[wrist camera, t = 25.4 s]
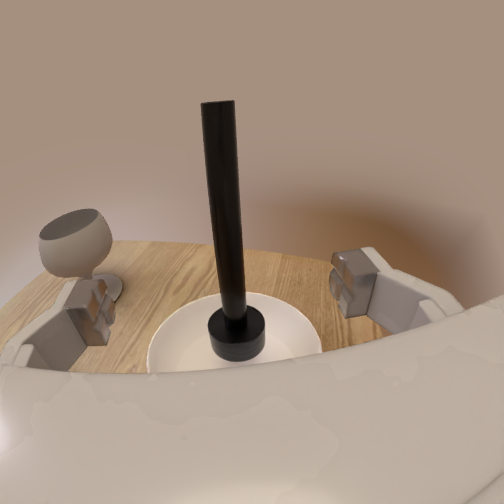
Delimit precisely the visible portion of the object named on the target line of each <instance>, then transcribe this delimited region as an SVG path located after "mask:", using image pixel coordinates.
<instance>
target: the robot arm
mask: <svg viewBox="0 0 504 504" xmlns="http://www.w3.org/2000/svg"><path fill="white" fill-rule="evenodd" d="M331 264H332V265H333V267H334V269H333V270H332V271H331V272H330V276H329V286H330V291H331V294H332V296H333V297H334V298H335V299H336V300H338V301H339V306H338V307H339V308H340V310H341V312H342V314H343V316H344V317H345V319H347V318H352V317H358V316H363V315H367V317H369V318H370V319H372V320H373V321H375V322H376V323H378V324H379V325H381V326H382V327H383V328H385V329H386V330H388V331H389V332H391V333H392V334H394V335H391V336H388V337H384V338H380V339H377V340H373V341H369V342H366V343H362V344H358V345H354V346H350V347H345V348H341V349H337V350H332V351H327V352H323V353H318V354H313V355H308V356H302V357H297V358H291V359H285V360H279V361H273V362H266V363H259V364H252V365H245V366H237V367H228V368H219V369H208V370H196V371H182V372H164V373H87V372H69V371H68V370H69V369H70V368H71V366H72V365H73V364H74V363H75V361H76V360H77V359H78V358H79V357H80V356H81V354H82V353H83V352H84V351H85V350H86V348H87V346H107V343H108V340H109V337H110V333H111V331H110V329H109V327H110V326H111V325H112V324H113V323H114V320H115V306H114V302H113V300H112V298H111V297H110V296H109V295H107V294H106V292H107V289H108V288H107V285H106V283H105V281H104V280H103V279H89V280H76V281H69V282H66V283H65V285H64V287H63V288H62V290H61V292H60V294H59V295H58V297H57V299H56V301H55V302H54V304H53V306H52V308H51V309H47V310H46V311H44V312H43V313H42V314H41V315H39V316H38V317H37V318H35V319H34V320H33V321H32V322H30V323H29V324H28V325H26V326H25V327H24V328H23V329H22V330H20V331H19V332H18V333H17V334H15V335H14V336H13V337H12V338H10V339H9V340H8V341H7V342H6V344H5V346H4V348H3V350H2V352H1V354H0V504H504V294H502V295H500V296H498V297H496V298H494V299H491V300H489V301H487V302H484V303H482V304H480V305H477V306H475V307H472V308H470V309H467V310H465V309H464V308H463V307H462V306H461V304H460V303H459V302H458V301H457V300H456V299H455V298H454V297H453V296H452V294H450V292H448V291H446V290H443V289H441V288H439V287H436V286H434V285H432V284H430V283H428V282H425V281H423V280H421V279H418V278H416V277H414V276H411V275H409V274H407V273H404V272H402V271H400V270H397V269H396V270H393V269H392V268H391V267H390V266H389V264H388V263H387V262H386V261H385V260H384V259H383V258H382V257H381V256H380V255H379V253H378V252H377V251H376V250H375V249H374V248H372V247H366V248H360V249H354V250H348V251H341V252H334V253H333V255H332V260H331Z"/></svg>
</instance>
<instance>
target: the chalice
mask: <svg viewBox="0 0 504 504" xmlns="http://www.w3.org/2000/svg"><path fill="white" fill-rule="evenodd" d="M111 246H112V234H111V231H110V228H109V226H108V224H107V222H106V221H105V219H104V217H103V216H102V215H101V214H100V213H99V212H98V211H97V210H95V209H81V210H77V211H73V212H70V213H67V214H65V215H63V216H61V217H58V218H57V219H55V220H53V221H52V222H50V223H49V224H48V225H46V226H45V227H44V228H43V229H42V231H41V232H40V235H39V252H40V256H41V260H42V263H43V265H44V267H45V268H46V269H47V270H48V272H49V273H51V274H53V275H55V276H57V277H63V278H70V277H77V276H78V277H80V278H82V279H83V280H89V279H103V280H104V281H105V283H106V285H107V288H108V289H107V292H106V294H107V295H109V296H110V297H111V298H112V300H113V302H114V301H115V300H116V299H117V298H118V296H119V295H120V293H121V291H122V281H121V280H120V278H118V277H117V276H115V275H112V274H98V275H94V276H92V272H93V270H94V268H96V267H97V266H98V265H99V264H100V263H102V262H103V261H104V259H105V258H106V257H107V255H108V254H109V252H110V249H111Z"/></svg>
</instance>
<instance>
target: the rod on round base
mask: <svg viewBox="0 0 504 504" xmlns="http://www.w3.org/2000/svg"><path fill="white" fill-rule="evenodd" d="M201 116H202V130H203V142H204V153H205V165H206V175H207V185H208V195H209V205H210V214H211V223H212V231H213V240H214V249H215V257H216V265H217V273H218V280H219V288H220V295H221V302H222V307H221V308H220V309H218V310H216V311H215V312H214V313H213V314H212V315H211V317H210V318H209V321H208V332H209V337H210V341H211V346H212V349H213V351H214V352H215V353H216V354H217V355H218V356H219V357H220V358H222V359H224V360H227V361H230V362H244V361H248V360H250V359H253V358H254V357H256V356H257V355H258V354H259V353H260V352H261V351H262V350H263V348H264V346H265V319H264V316H263V315H262V313H261V312H260V311H259V310H257V309H256V308H254V307H252V306H249V305H247V304H246V289H245V274H244V258H243V242H242V226H241V209H240V193H239V174H238V157H237V138H236V119H235V101H234V100H229V101H215V102H205V103H201Z"/></svg>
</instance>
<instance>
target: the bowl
mask: <svg viewBox="0 0 504 504" xmlns="http://www.w3.org/2000/svg"><path fill="white" fill-rule="evenodd" d="M246 304H247V305H249V306H252V307H254V308H256V309H257V310H259V311H260V312H261V313H262V315H263V316H264V319H265V346H264V348H263V350H262V351H261V352H260V353H259V354H258V355H257V356H256V357H254V358H253V359H250V360H248V361H244V362H230V361H227V360H224V359H222V358H220V357H219V356H218V355H217V354H216V353H215V352H214V351H213V349H212V346H211V341H210V337H209V332H208V321H209V318H210V317H211V315H212V314H213V313H214V312H215V311H216V310H218V309H220V308H221V307H222V302H221V295H220V293H219V294H214V295H210V296H206V297H203V298H200V299H197V300H195V301H192V302H190V303H188V304H186V305H184V306H183V307H181V308H179V309H178V310H177V311H175V312H174V313H172V314H171V315H170V316H169V317H168V318H167V319H166V320H165V321H164V322H163V323H162V324H161V325H160V326H159V328H158V329H157V331H156V332H155V334H154V335H153V337H152V340H151V342H150V345H149V347H148V353H147V360H146V363H147V372H148V373H164V372H182V371H196V370H208V369H219V368H228V367H237V366H245V365H252V364H259V363H266V362H273V361H279V360H285V359H291V358H297V357H302V356H308V355H313V354H318V353H322V347H321V341H320V339H319V337H318V334H317V332H316V330H315V328H314V327H313V325H312V324H311V322H310V321H309V320H308V319H307V318H306V317H305V316H304V315H303V314H302V313H301V312H300V311H299V310H297V309H296V308H294V307H293V306H291V305H290V304H288V303H286V302H284V301H281V300H279V299H277V298H274V297H271V296H267V295H263V294H258V293H251V292H246Z"/></svg>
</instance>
